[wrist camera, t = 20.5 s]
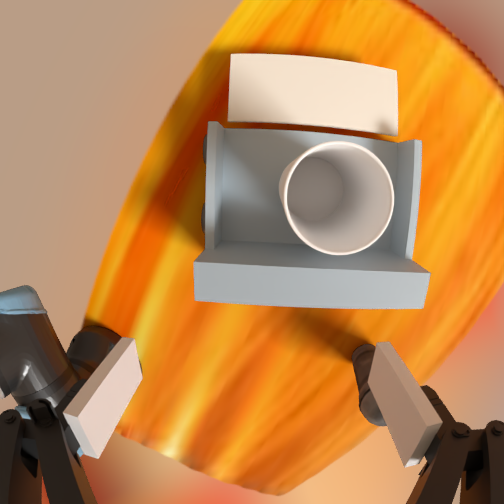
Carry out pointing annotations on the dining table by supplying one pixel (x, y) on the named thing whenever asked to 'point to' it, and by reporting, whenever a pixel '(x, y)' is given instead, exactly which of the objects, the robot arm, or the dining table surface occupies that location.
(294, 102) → the tailgate
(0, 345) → the robot arm
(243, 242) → the truck bed
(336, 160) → the cup
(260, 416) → the dining table surface
